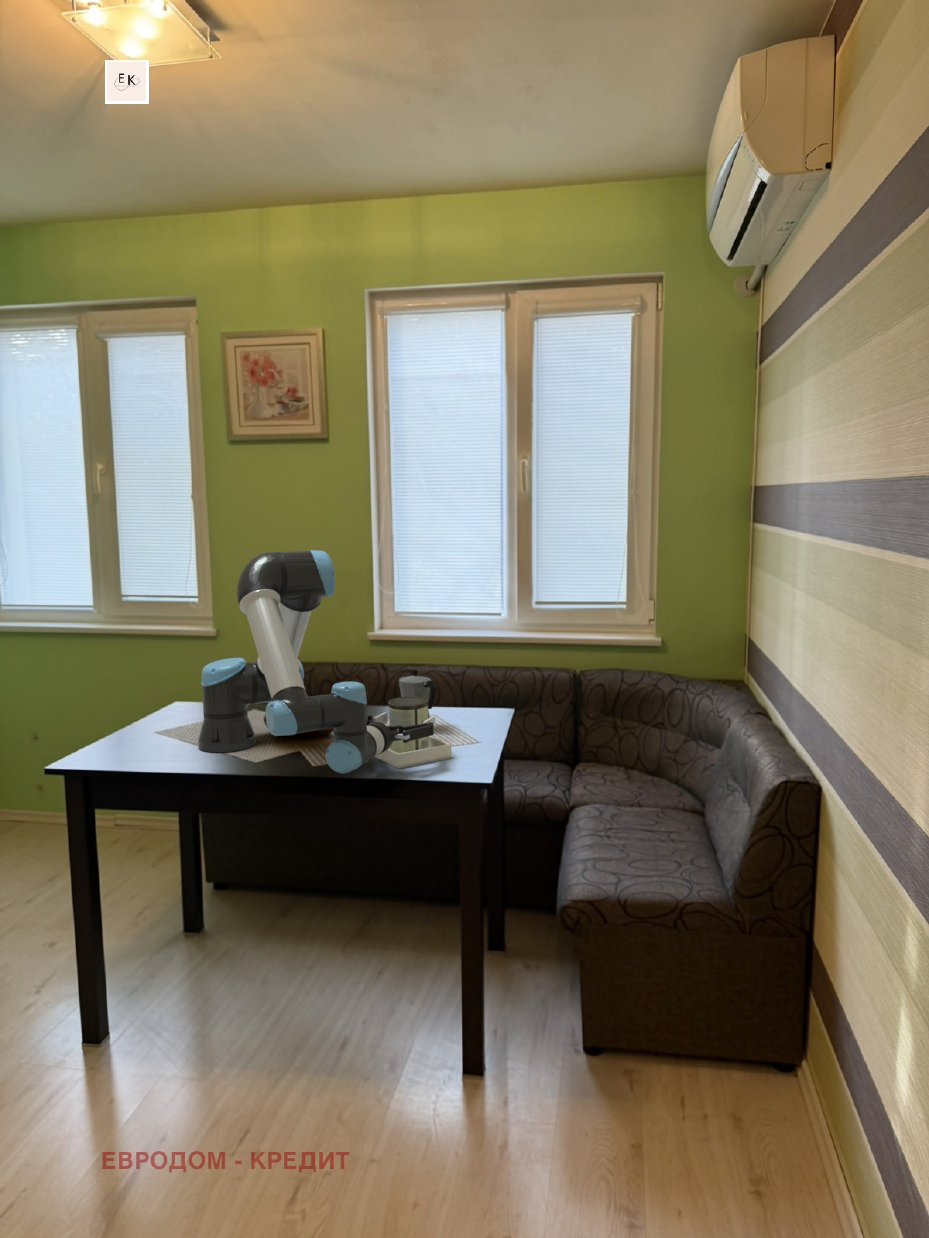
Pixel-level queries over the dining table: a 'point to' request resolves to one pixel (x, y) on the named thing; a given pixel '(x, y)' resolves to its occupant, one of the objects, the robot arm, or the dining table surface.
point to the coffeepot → (418, 687)
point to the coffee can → (408, 720)
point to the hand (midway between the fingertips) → (409, 719)
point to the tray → (418, 754)
